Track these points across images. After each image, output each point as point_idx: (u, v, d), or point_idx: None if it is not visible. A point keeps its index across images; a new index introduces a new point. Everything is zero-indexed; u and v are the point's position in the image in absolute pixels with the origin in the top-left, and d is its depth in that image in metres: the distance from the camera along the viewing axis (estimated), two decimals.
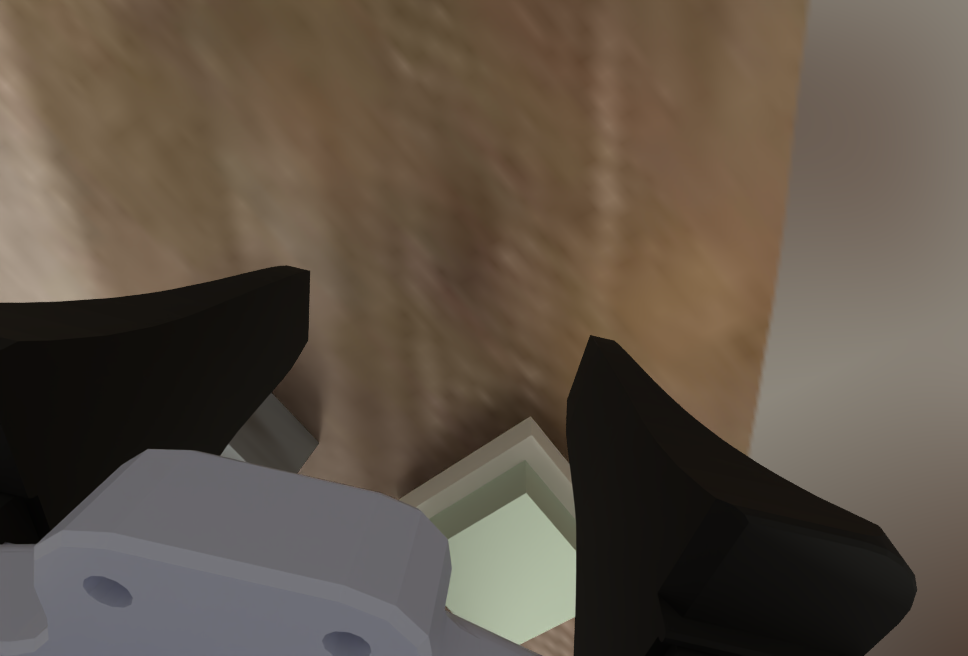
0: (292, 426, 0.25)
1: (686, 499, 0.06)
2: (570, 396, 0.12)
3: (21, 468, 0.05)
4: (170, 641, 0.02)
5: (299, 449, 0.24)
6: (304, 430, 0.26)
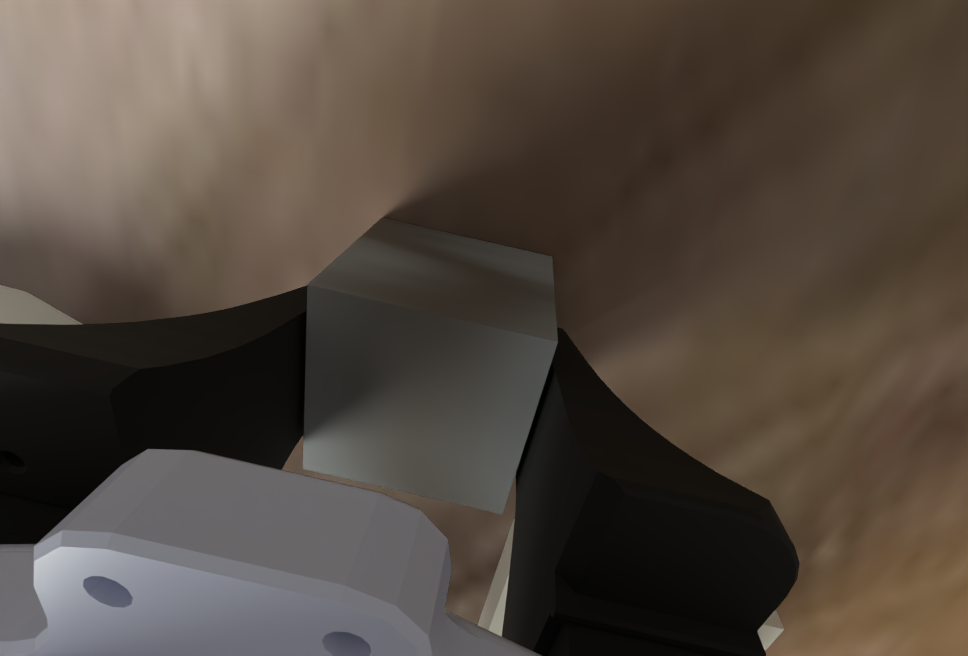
0: None
1: (580, 475, 0.06)
2: None
3: None
4: (173, 640, 0.03)
5: None
6: None
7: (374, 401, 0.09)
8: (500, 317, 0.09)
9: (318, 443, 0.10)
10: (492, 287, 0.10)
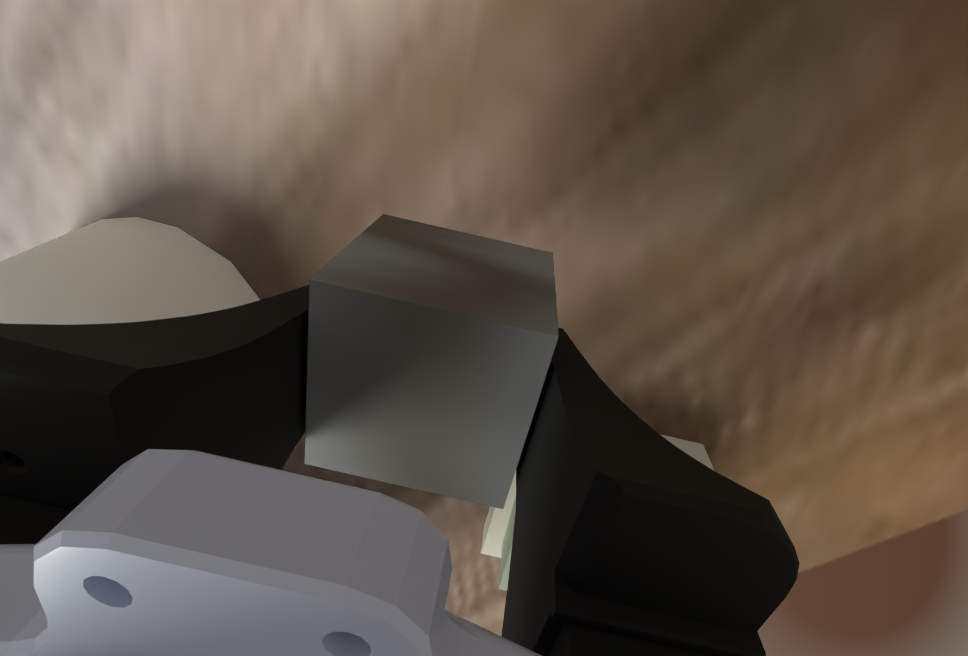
0: None
1: (580, 475, 0.06)
2: None
3: None
4: (171, 640, 0.03)
5: None
6: None
7: (376, 396, 0.09)
8: (501, 312, 0.09)
9: (320, 438, 0.10)
10: (493, 283, 0.10)
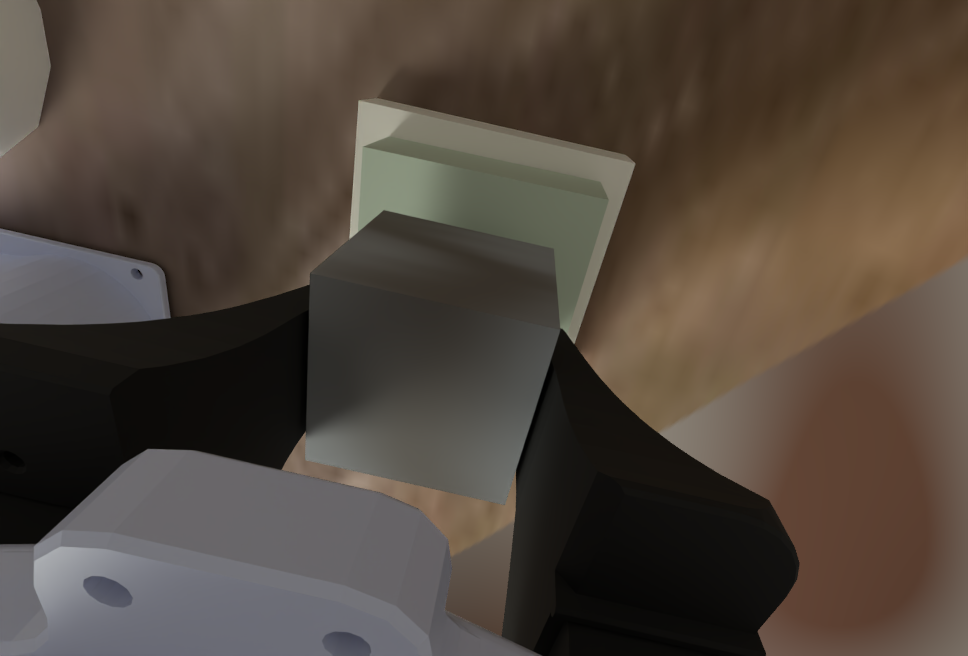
0: None
1: (580, 475, 0.06)
2: None
3: None
4: (170, 641, 0.02)
5: None
6: None
7: (377, 391, 0.09)
8: (502, 306, 0.09)
9: (320, 434, 0.10)
10: (494, 277, 0.10)
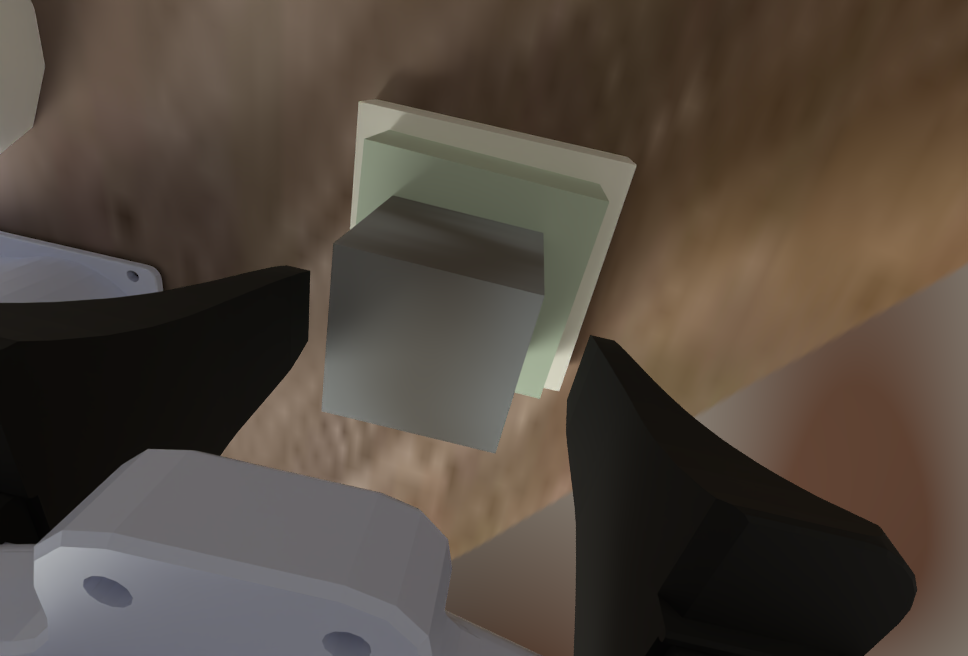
0: None
1: (686, 499, 0.06)
2: (570, 396, 0.12)
3: (21, 468, 0.05)
4: (171, 640, 0.03)
5: None
6: None
7: (387, 348, 0.11)
8: (496, 275, 0.10)
9: (336, 387, 0.12)
10: (489, 253, 0.11)
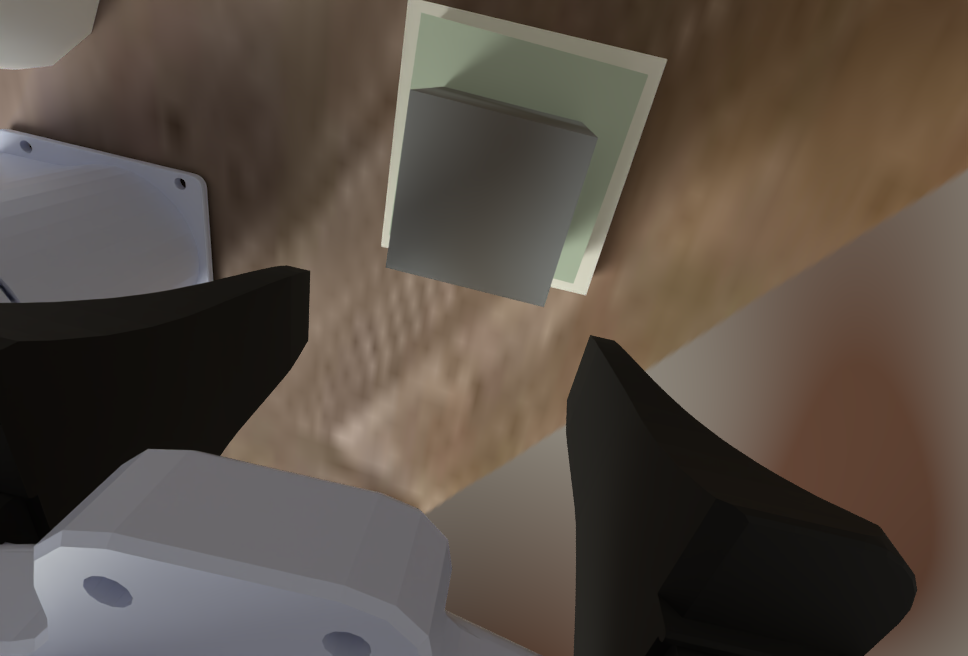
0: None
1: (686, 499, 0.06)
2: (570, 396, 0.12)
3: (21, 468, 0.05)
4: (171, 640, 0.03)
5: None
6: None
7: (450, 198, 0.12)
8: (553, 125, 0.12)
9: (401, 241, 0.13)
10: (542, 118, 0.13)
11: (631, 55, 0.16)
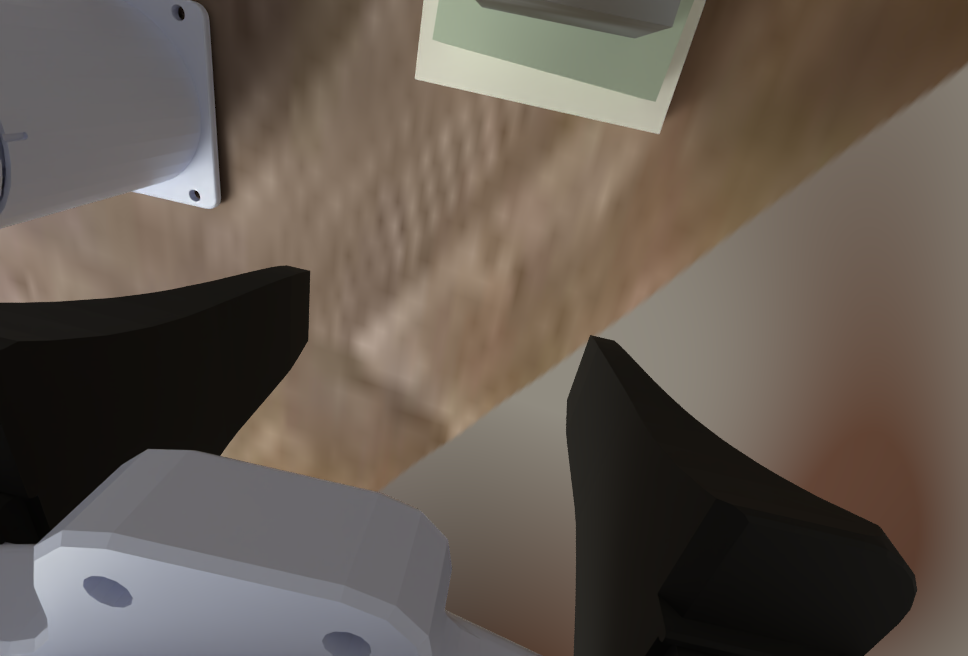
0: None
1: (686, 499, 0.06)
2: (570, 396, 0.12)
3: (20, 468, 0.05)
4: (171, 641, 0.03)
5: None
6: None
7: None
8: None
9: None
10: None
11: None
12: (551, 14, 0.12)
